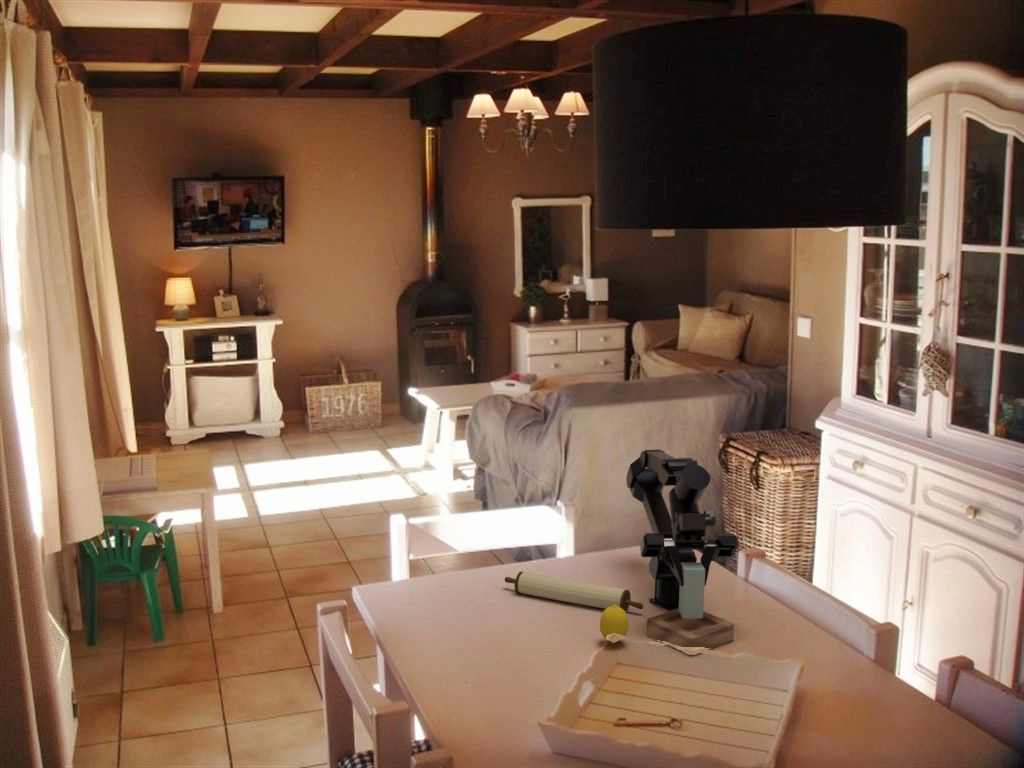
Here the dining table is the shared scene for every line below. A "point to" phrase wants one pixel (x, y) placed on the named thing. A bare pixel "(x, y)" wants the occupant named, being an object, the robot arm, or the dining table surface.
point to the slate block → (692, 591)
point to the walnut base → (690, 630)
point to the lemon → (614, 621)
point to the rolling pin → (572, 591)
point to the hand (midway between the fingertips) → (693, 585)
